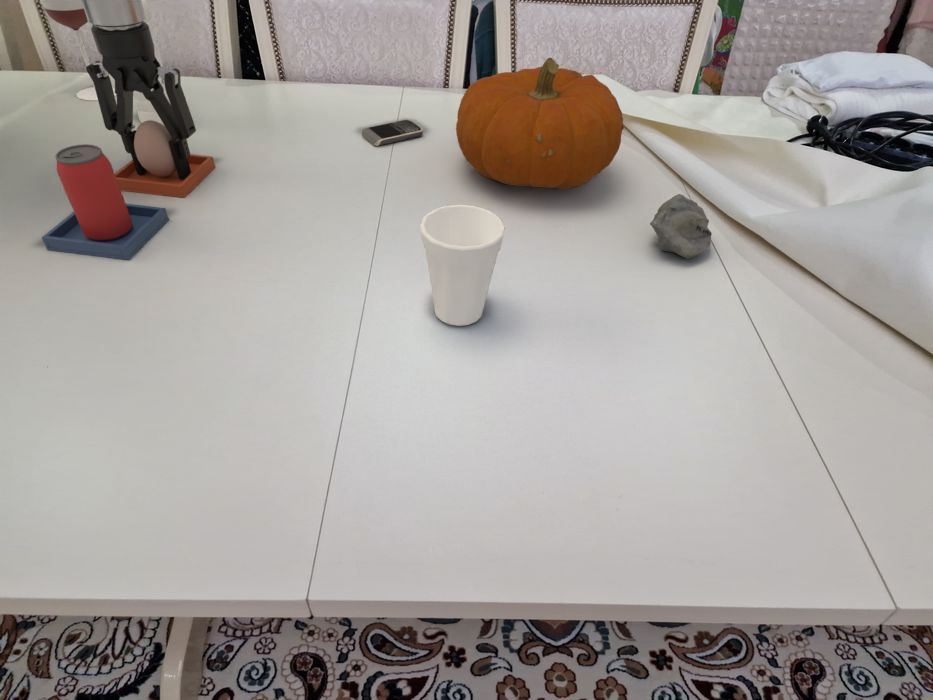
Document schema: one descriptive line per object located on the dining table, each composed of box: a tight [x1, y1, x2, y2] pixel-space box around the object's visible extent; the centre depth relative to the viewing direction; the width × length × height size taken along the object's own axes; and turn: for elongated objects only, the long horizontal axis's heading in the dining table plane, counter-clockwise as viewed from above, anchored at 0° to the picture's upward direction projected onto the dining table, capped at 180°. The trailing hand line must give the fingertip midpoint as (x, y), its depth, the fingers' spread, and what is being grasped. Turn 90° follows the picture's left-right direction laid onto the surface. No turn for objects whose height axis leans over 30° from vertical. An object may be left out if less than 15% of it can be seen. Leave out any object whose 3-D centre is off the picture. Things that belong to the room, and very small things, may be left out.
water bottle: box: [133, 0, 171, 125], centre depth 113 cm, size 9×6×25 cm
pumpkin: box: [455, 57, 625, 189], centre depth 104 cm, size 28×28×20 cm
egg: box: [134, 120, 176, 177], centre depth 100 cm, size 7×7×9 cm
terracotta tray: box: [114, 153, 216, 199], centre depth 103 cm, size 12×11×2 cm
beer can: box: [54, 143, 133, 241], centre depth 86 cm, size 7×7×12 cm
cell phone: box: [361, 119, 424, 147], centre depth 120 cm, size 6×11×1 cm, turn 124°
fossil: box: [649, 193, 713, 259], centre depth 92 cm, size 11×9×8 cm
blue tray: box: [41, 202, 170, 261], centre depth 89 cm, size 12×11×2 cm
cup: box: [419, 204, 506, 327], centre depth 76 cm, size 10×10×13 cm
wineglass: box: [39, 0, 117, 101], centre depth 122 cm, size 9×10×22 cm
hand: (164, 173), depth 103 cm, fingers closed on egg, 7 cm apart
